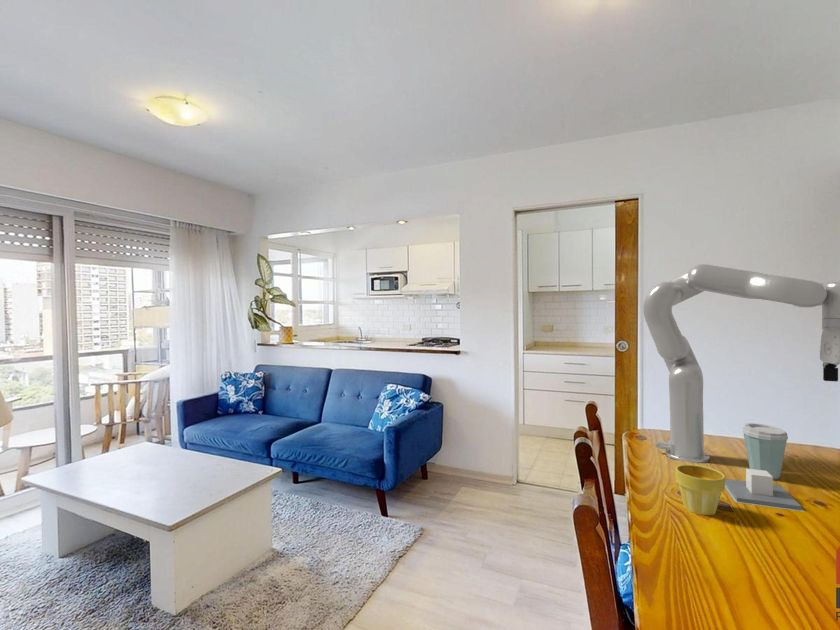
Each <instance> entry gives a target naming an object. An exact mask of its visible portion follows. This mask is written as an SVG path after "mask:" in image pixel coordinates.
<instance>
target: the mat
mask: <svg viewBox="0 0 840 630" xmlns="http://www.w3.org/2000/svg"><path fill="white" fill-rule="evenodd" d="M725 490H726V492H728V494H729V495H730V496H731V498H732V499H733V501H734V502H735V503H738V504H745V505H753V506H760V507H767V508H774V509H775V508H776V509H783V510H787V511H789V510H790V511H797V512H804V513H806V511H805V510H804V509H803V508H802V507H801V510H796V509H788V508H781V507H774V506H766V505H759V504H751V503H744V502H737V501H736V499H735V498H734V497H733V495H732V494H731V492H730V491H729V489H728V488H727V487H726V485H725Z"/></svg>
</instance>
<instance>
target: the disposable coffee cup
mask: <svg viewBox="0 0 840 630" xmlns="http://www.w3.org/2000/svg"><path fill="white" fill-rule="evenodd" d="M741 430H742V431H741V432H742V434H743V438H744V443H745V444H744V445H745V449H746V454H747V460H748V465H749V469H755V470H764V471H767V472H768V473H769V474H770V475H771V476H772V477H773V481H775V480H778V479H779V478H780V477H781V473H782V467H783V461H784V458H785V451H786V448H787V447H786V446H787V441H788V439H789V436H788V433H787V432H786V431H785V430H784V429H781V428H779V427H775V426H772V425H767V424H761V423H755V422H754V423H753V422H747V423H744V426H743V427H742V429H741Z"/></svg>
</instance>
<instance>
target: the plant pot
mask: <svg viewBox="0 0 840 630" xmlns="http://www.w3.org/2000/svg"><path fill="white" fill-rule="evenodd" d="M674 470H675V481H676V483H677V484H678V487H679V491H680V495H681V499H682V503H683V507H684V509H686V510H687V511H690V512H692V513H693V514H698V515H703V516H714V515H716V514H717V510H718V506H719V503H720V499H721V495H722V493H723V492H724V491H725V490H726V488H725V479H726V476H725V474H724V473H722V472H721V471H719V470H717V469H715V468H712V467H708V466H704V465H699V464H691V463H690V464H688V463H687V464H680V465H679V464H678V465H677V466H676V467H675V469H674Z"/></svg>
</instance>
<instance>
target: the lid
mask: <svg viewBox="0 0 840 630" xmlns="http://www.w3.org/2000/svg"><path fill="white" fill-rule="evenodd" d="M725 485H726V487H727V488H728V489H729V491H730V492H731V494H732V495H733V497H734V498H735V499H736V501H737V502H744V503H751V504H750V505H752V504H759V505H766V506H774V507H781V508H788V509H796V510H801V508H802V505H801V504H800V503H799V502H798V501H797V500H796V499H795V498H794V497H793V496H792V495H791V494H790V493H789V492H788V491H787V490H786V489H785V488H784V487H783V486H782V485H780V484H774V480H773V477H772V476H771V475H770V474H769V473H768V472H767V471H764V470H755V469H750V468H745V480H741V479H739V480H738V479H731V478H725ZM737 502H736V503H737ZM744 503H743V504H744ZM759 505H758V506H759ZM766 506H765V507H766ZM774 507H773V508H774ZM781 508H780V509H781ZM788 509H787V510H788ZM796 510H795V511H796Z"/></svg>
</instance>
